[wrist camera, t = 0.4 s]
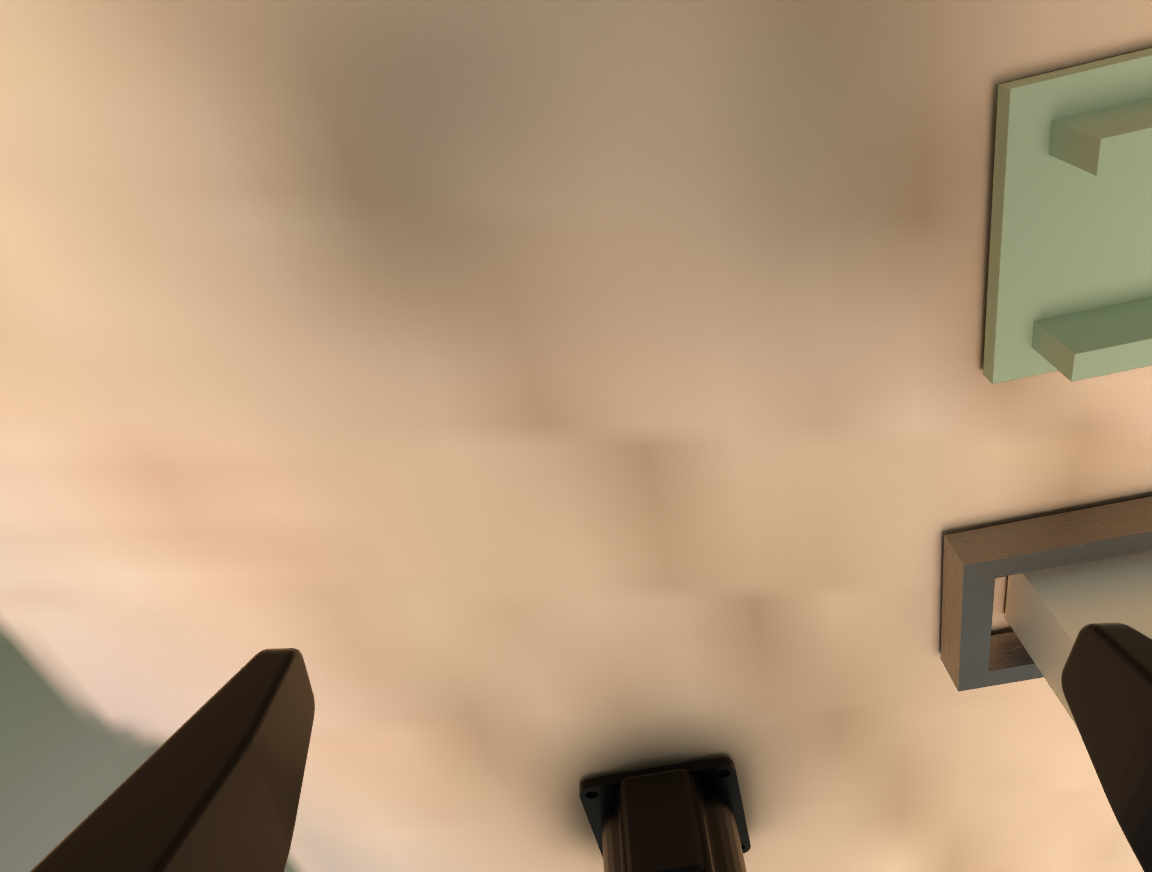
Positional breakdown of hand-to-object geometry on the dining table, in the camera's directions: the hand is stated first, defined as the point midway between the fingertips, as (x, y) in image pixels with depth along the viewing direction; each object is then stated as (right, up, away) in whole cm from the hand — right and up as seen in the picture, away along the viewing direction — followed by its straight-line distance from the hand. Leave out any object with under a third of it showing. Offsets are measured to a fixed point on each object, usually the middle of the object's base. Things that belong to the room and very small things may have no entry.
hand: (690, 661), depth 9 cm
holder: (+14, +9, +11) cm, 20 cm away
